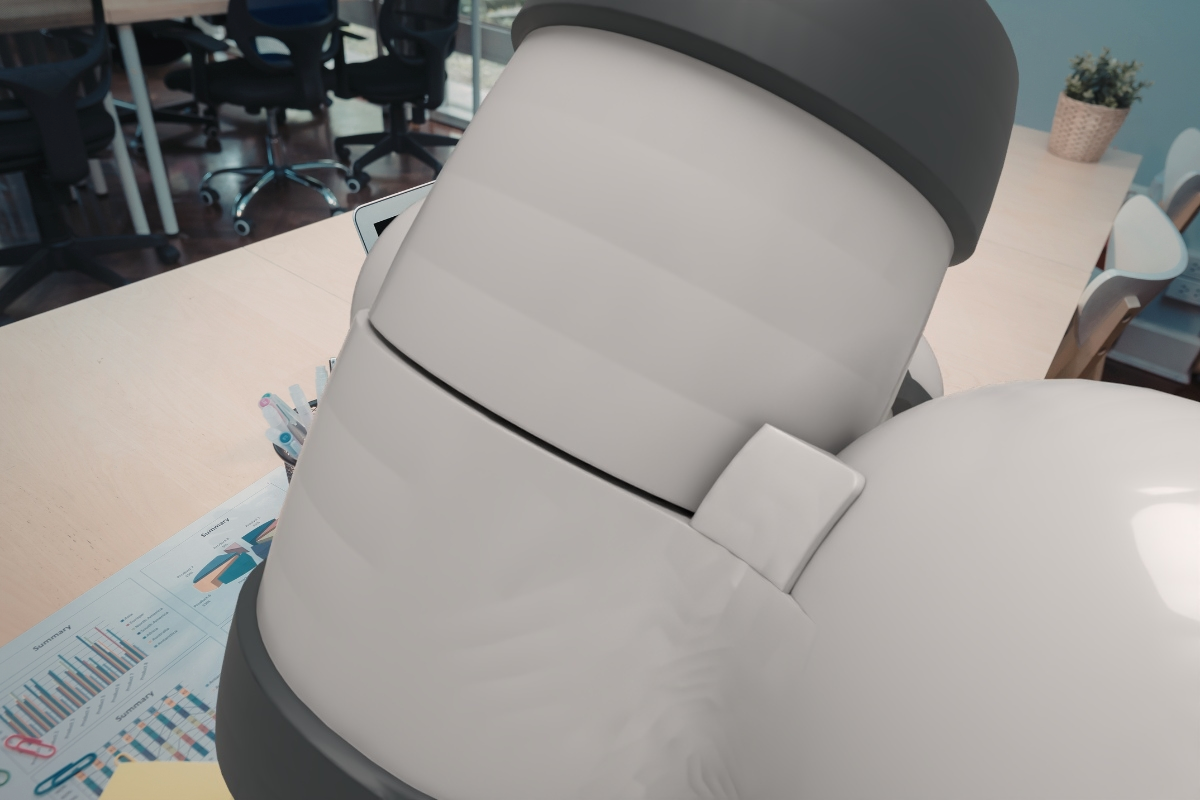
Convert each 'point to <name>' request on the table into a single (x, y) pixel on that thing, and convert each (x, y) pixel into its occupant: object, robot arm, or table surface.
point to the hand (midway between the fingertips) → (723, 221)
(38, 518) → the table surface
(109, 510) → the table surface
